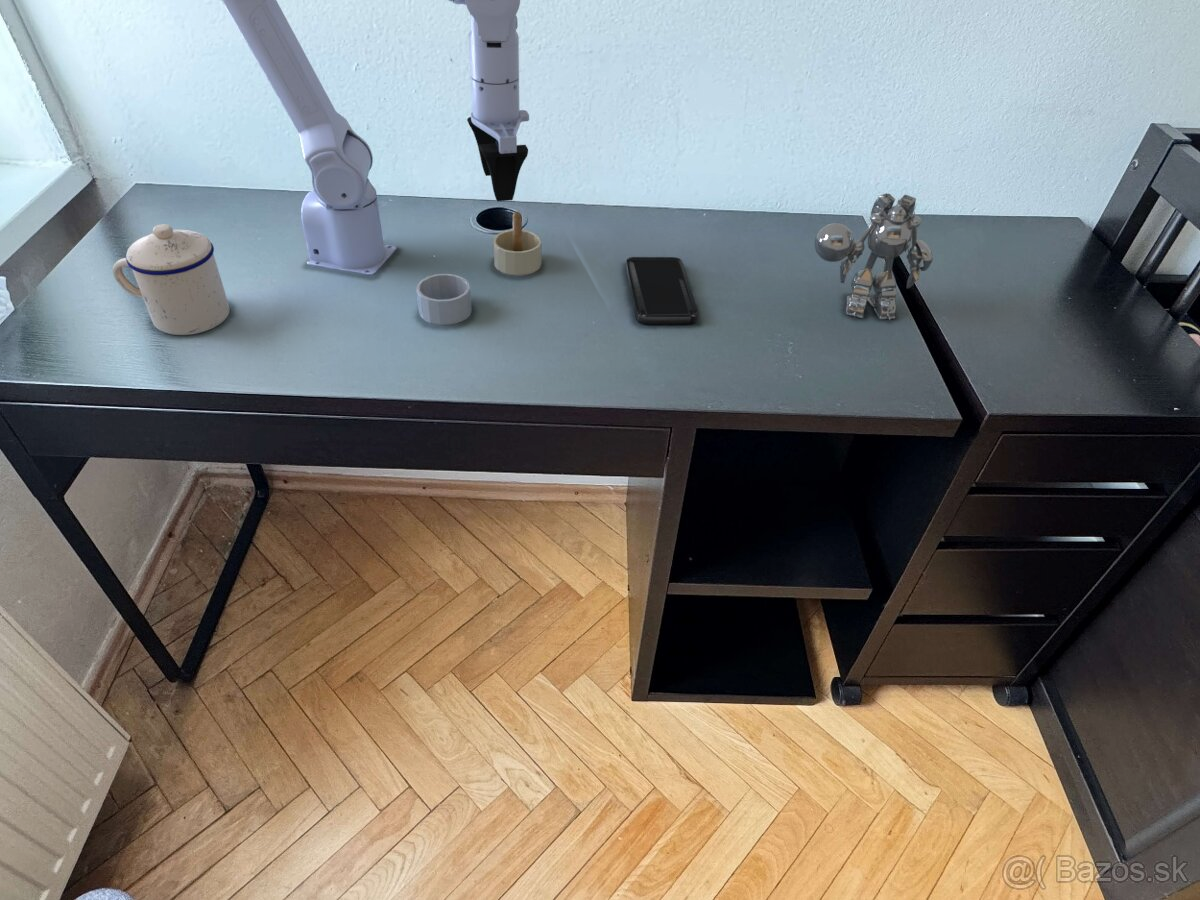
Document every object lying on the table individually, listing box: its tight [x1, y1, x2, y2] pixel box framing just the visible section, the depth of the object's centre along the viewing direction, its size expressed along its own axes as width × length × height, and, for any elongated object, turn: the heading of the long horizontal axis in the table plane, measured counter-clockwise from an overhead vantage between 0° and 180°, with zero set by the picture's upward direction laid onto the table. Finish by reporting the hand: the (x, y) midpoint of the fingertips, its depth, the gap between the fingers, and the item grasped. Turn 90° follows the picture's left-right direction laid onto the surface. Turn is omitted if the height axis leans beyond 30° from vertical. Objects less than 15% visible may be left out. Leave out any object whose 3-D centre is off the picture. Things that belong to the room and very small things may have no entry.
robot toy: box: [814, 192, 933, 320], centre depth 101 cm, size 15×6×15 cm, turn 87°
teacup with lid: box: [112, 223, 231, 336], centre depth 93 cm, size 12×9×12 cm
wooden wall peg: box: [512, 211, 523, 251], centre depth 107 cm, size 3×2×7 cm
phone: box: [625, 256, 699, 325], centre depth 106 cm, size 8×1×15 cm
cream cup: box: [492, 229, 543, 276], centre depth 108 cm, size 6×6×4 cm
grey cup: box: [416, 273, 473, 326], centre depth 99 cm, size 6×6×4 cm
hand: (498, 186), depth 104 cm, fingers open, 7 cm apart
